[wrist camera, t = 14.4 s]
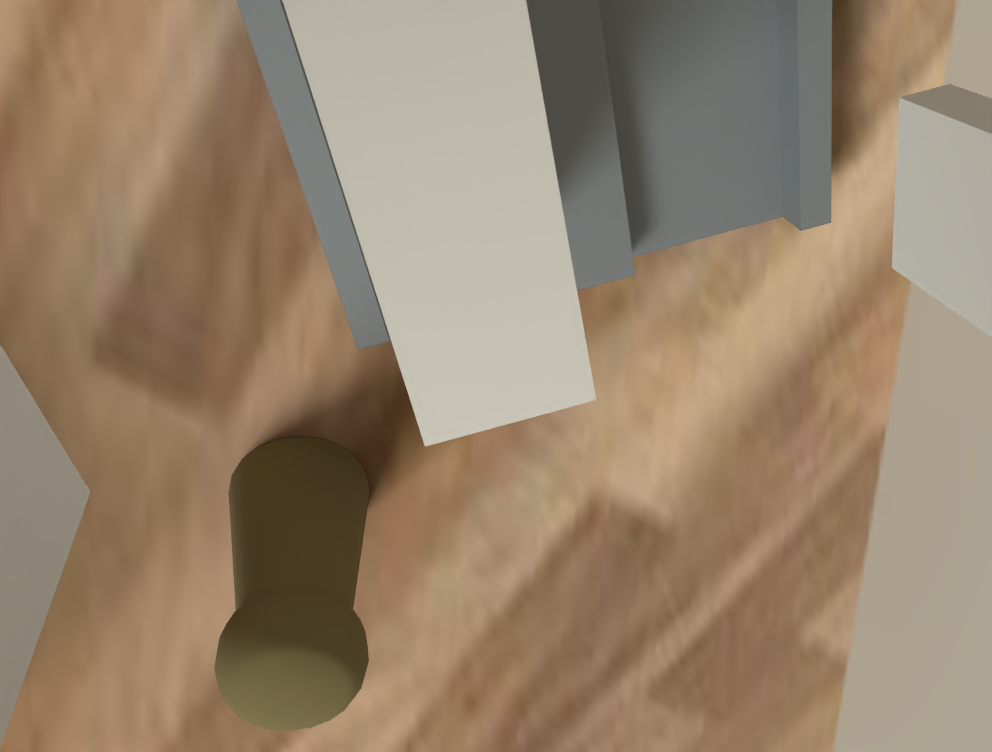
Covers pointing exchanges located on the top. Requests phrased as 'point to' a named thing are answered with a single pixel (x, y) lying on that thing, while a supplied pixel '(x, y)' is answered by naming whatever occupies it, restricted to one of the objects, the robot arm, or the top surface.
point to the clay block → (452, 201)
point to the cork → (294, 585)
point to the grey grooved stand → (621, 128)
